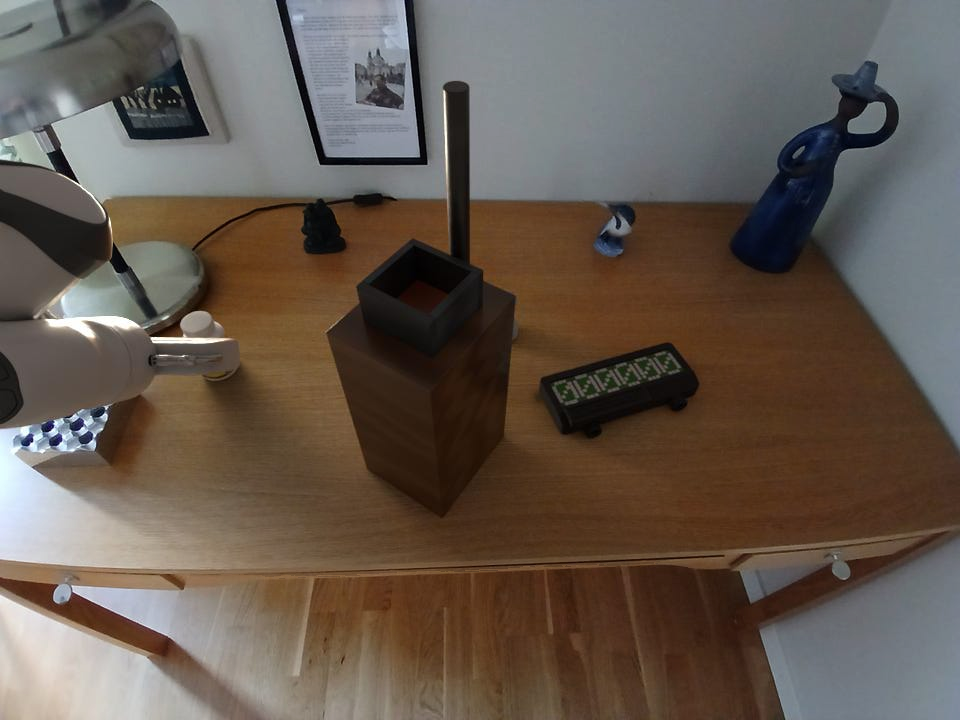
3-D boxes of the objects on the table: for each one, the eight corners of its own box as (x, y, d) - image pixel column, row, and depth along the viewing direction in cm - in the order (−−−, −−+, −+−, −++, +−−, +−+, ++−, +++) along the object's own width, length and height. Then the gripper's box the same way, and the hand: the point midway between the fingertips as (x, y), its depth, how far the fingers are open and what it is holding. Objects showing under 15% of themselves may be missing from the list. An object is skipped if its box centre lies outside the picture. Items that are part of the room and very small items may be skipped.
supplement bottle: (233, 382, 80) (209, 337, 72) (196, 381, 80) (167, 336, 72) (244, 353, 83) (221, 307, 75) (208, 353, 83) (181, 306, 75)
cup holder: (442, 518, 67) (411, 197, 32) (366, 468, 71) (266, 136, 36) (504, 435, 75) (532, 103, 40) (432, 395, 79) (401, 61, 44)
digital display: (569, 433, 71) (538, 376, 77) (566, 446, 74) (536, 390, 80) (710, 389, 76) (670, 339, 82) (703, 403, 78) (665, 353, 84)
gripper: (207, 330, 56) (259, 324, 70) (2, 328, 56) (95, 323, 70) (209, 392, 57) (261, 374, 70) (7, 390, 56) (98, 373, 70)
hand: (177, 349), depth 70 cm, fingers open, 8 cm apart
